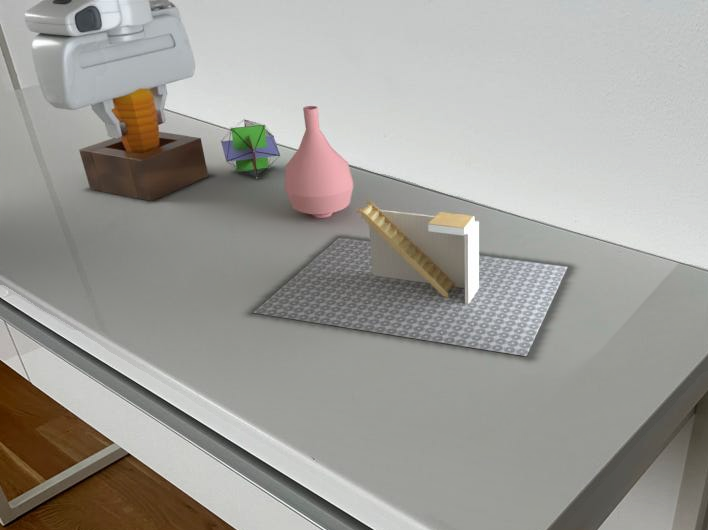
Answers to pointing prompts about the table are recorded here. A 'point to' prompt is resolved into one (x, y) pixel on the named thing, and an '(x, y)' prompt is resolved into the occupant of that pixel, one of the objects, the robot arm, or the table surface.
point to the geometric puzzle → (250, 147)
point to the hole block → (145, 166)
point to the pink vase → (317, 173)
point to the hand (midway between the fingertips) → (137, 130)
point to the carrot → (138, 120)
